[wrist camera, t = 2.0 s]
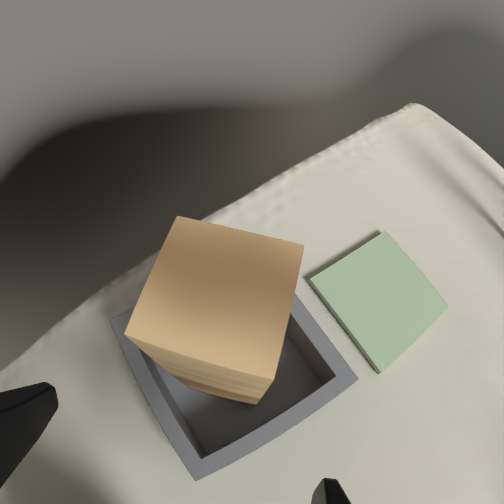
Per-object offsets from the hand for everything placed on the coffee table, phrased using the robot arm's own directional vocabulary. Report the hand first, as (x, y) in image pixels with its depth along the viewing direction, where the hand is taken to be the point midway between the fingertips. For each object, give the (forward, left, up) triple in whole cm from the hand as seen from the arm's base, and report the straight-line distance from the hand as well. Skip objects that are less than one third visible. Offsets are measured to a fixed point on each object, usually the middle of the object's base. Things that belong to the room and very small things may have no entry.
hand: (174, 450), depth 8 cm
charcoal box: (+4, +4, -12) cm, 13 cm away
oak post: (+4, +4, -12) cm, 13 cm away
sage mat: (+17, +2, -12) cm, 21 cm away
